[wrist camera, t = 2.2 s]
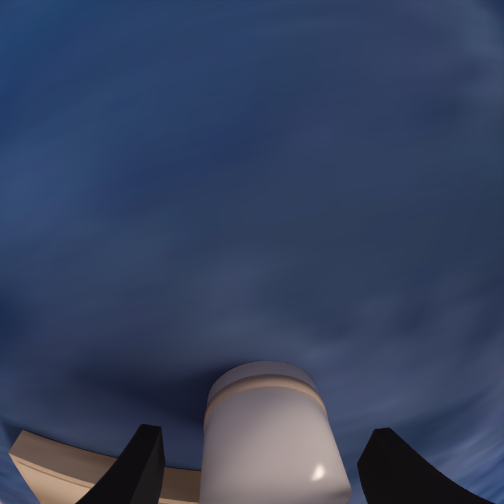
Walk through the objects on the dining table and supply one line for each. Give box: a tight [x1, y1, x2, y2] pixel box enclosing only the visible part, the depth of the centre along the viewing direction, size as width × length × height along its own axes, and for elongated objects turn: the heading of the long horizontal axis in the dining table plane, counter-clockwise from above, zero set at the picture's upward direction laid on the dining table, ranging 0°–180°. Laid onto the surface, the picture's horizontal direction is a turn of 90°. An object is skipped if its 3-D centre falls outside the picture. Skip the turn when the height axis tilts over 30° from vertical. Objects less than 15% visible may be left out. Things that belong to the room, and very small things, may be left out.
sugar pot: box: [199, 361, 351, 504], centre depth 9 cm, size 4×4×5 cm
